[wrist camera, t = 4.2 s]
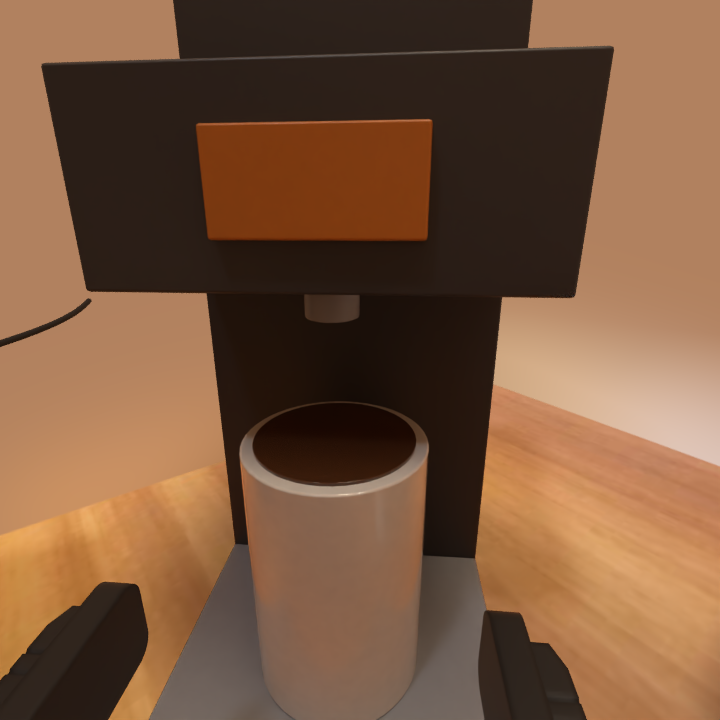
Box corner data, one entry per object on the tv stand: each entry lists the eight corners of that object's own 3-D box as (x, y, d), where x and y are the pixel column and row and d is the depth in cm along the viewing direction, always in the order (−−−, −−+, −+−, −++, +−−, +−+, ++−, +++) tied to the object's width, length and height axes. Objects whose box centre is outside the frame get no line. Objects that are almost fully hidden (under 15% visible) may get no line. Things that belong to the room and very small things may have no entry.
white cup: (246, 611, 18) (225, 415, 15) (374, 566, 21) (377, 388, 18) (284, 768, 13) (262, 517, 10) (449, 684, 16) (469, 460, 13)
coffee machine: (532, 857, 12) (832, -537, 4) (119, 811, 13) (-231, -402, 5) (458, 498, 27) (495, 44, 19) (269, 489, 28) (234, 52, 20)
